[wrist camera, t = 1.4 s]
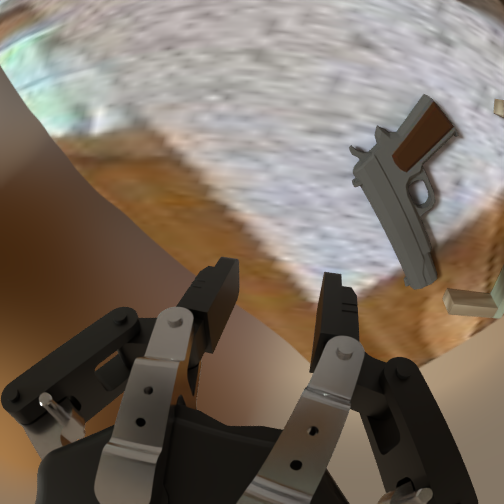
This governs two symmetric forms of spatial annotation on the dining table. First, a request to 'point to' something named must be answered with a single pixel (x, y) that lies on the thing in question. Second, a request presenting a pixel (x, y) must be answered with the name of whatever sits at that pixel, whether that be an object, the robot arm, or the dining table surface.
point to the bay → (475, 302)
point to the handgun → (404, 185)
